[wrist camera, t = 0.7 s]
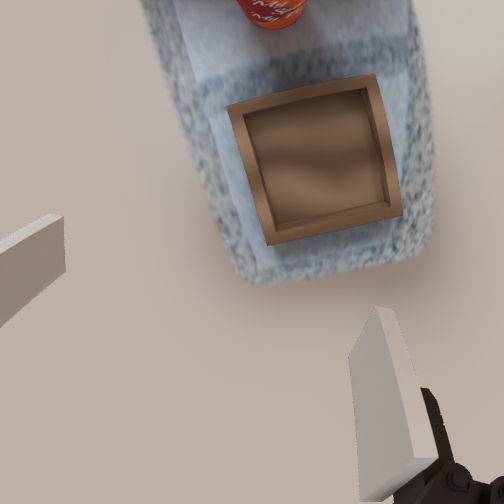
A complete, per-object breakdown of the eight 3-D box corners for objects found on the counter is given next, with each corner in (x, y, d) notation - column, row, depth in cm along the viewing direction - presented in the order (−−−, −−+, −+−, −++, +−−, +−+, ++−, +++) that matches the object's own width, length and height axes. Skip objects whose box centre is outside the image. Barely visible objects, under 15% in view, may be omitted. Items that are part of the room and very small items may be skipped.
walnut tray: (231, 107, 30) (226, 106, 28) (367, 77, 28) (375, 73, 25) (268, 235, 36) (267, 246, 33) (394, 207, 33) (403, 215, 30)
